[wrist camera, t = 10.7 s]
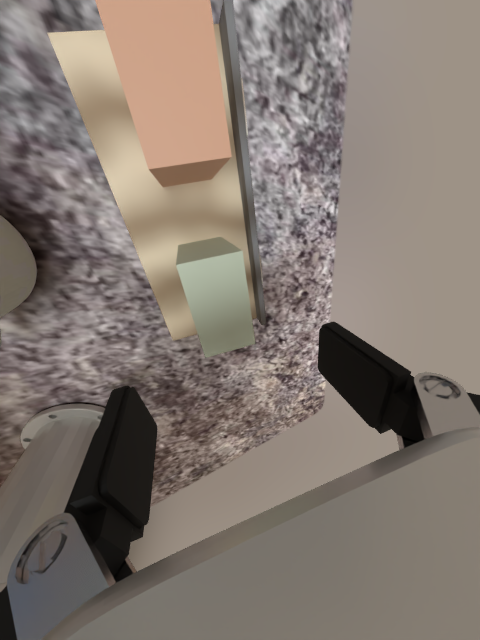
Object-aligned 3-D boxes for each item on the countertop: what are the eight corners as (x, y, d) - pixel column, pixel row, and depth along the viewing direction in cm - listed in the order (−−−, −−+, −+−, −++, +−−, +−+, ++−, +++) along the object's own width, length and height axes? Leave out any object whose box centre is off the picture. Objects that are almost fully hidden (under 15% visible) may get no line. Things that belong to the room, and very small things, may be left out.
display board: (259, 312, 28) (267, 323, 26) (173, 335, 27) (172, 349, 24) (226, 35, 16) (235, -2, 13) (57, 46, 14) (26, 5, 11)
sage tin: (221, 236, 21) (244, 250, 14) (234, 303, 25) (256, 343, 18) (178, 245, 21) (175, 265, 13) (198, 312, 25) (205, 358, 17)
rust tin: (188, 47, 15) (195, -134, 7) (212, 179, 19) (234, 156, 11) (122, 52, 14) (50, -143, 6) (162, 187, 18) (148, 169, 10)
